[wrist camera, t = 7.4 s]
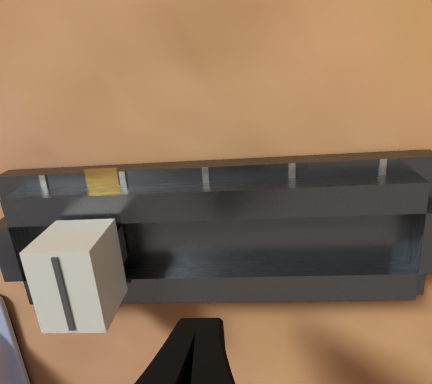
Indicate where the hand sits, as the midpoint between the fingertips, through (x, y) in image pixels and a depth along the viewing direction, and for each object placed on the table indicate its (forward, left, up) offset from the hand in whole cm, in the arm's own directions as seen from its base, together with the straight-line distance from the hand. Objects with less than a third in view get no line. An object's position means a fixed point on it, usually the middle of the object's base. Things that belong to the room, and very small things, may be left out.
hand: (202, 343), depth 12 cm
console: (0, 0, -9) cm, 9 cm away
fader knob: (0, +6, -7) cm, 9 cm away
